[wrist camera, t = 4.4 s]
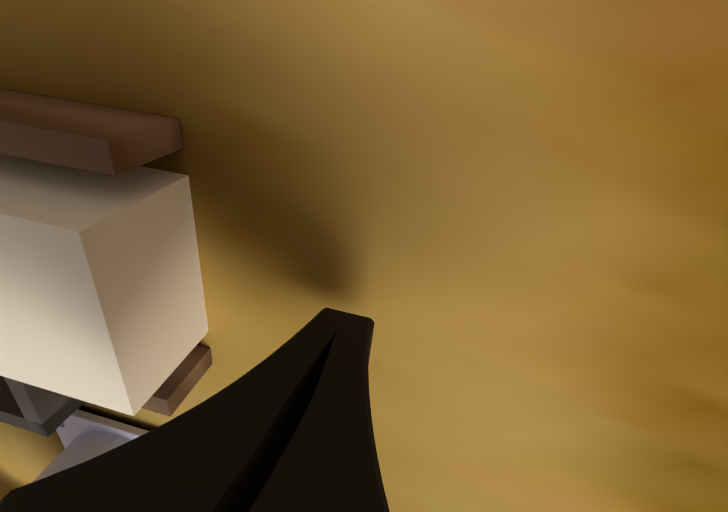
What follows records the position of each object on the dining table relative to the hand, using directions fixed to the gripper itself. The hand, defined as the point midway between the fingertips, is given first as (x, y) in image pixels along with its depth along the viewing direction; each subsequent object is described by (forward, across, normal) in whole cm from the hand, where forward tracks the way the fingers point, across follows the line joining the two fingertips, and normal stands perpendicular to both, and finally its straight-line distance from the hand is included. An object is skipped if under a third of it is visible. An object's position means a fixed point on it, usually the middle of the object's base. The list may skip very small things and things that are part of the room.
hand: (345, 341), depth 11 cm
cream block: (+2, +9, 0) cm, 9 cm away
